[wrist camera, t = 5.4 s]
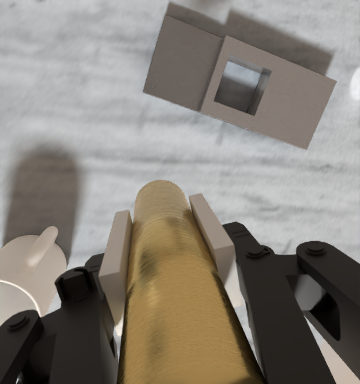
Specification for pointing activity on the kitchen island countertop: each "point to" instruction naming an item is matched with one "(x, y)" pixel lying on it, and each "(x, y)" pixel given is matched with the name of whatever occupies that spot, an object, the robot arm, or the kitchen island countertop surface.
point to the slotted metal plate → (212, 73)
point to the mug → (30, 273)
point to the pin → (178, 302)
